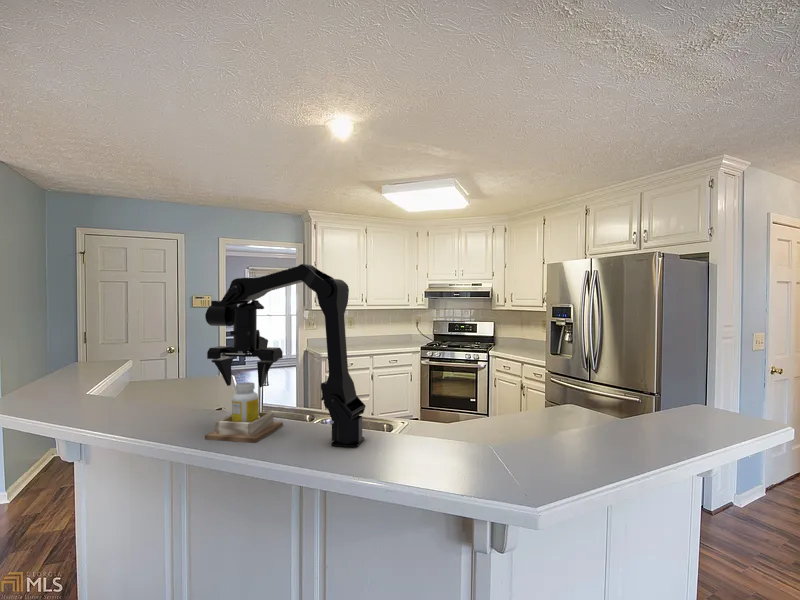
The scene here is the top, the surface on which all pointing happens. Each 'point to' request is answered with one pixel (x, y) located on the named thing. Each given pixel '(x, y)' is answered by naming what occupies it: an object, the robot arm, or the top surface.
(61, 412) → the top surface
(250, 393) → the pill bottle
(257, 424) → the pocket tray
